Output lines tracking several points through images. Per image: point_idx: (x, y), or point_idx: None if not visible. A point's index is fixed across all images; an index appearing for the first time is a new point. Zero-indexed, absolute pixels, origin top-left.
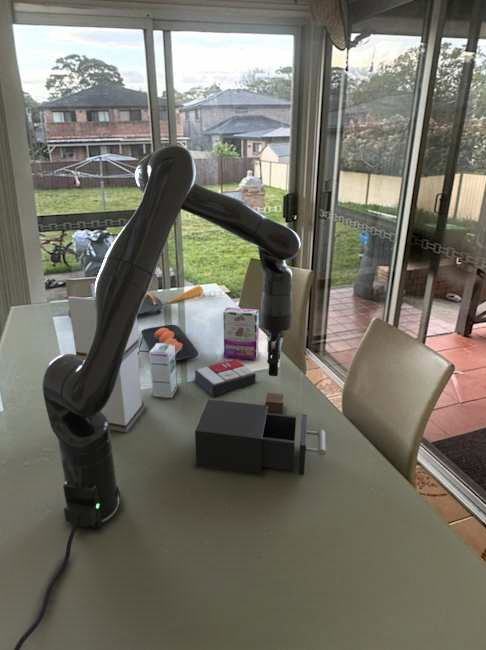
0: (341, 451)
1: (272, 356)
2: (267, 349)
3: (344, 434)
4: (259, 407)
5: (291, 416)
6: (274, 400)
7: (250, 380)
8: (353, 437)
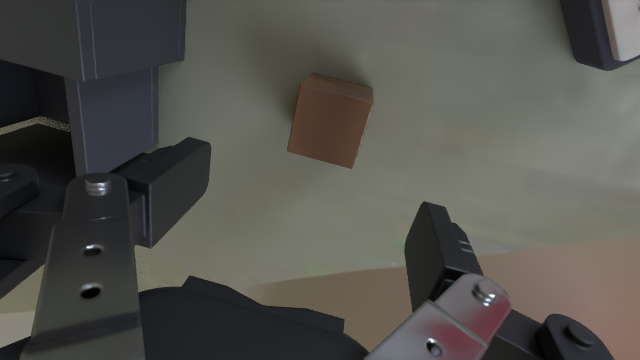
0: (165, 240)
1: (427, 213)
2: (54, 239)
3: (229, 266)
4: (56, 34)
5: (80, 166)
6: (306, 123)
7: (580, 37)
8: (220, 279)
